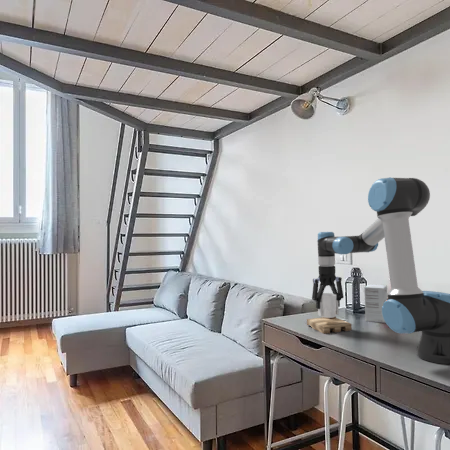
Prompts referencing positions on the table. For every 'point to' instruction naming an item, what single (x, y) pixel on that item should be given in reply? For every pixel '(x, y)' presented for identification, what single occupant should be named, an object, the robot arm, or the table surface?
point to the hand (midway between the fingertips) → (328, 314)
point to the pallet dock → (329, 325)
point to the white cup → (328, 305)
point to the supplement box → (374, 302)
